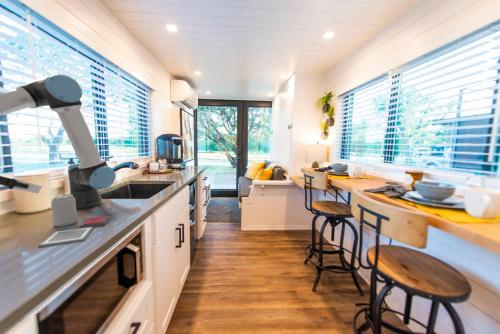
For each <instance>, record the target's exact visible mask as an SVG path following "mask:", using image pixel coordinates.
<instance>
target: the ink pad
mask: <svg viewBox="0 0 500 334" xmlns="http://www.w3.org/2000/svg"><path fill="white" fill-rule="evenodd" d="M109 220H110V215H107V216H106V215H105V216H96V217H95V216H94V217H89V218H86V220H84V221H83V222H82V224H80V225H79V226H80V227H79V229H80V228H88V227H94V228H96V227H104V226H106V224H107V223H108V221H109Z"/></svg>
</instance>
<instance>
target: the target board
mask: <svg viewBox="0 0 500 334" xmlns="http://www.w3.org/2000/svg"><path fill="white" fill-rule="evenodd" d="M94 229H95V227H88V228H80V227H79V228H73V229H66V230H59V231H54V232H53V233H51V234H50V235H49V236H48V237H47V238H45V239H44V240H43V241H41V243H39V245H38V248H43V247H49V246H50V247H51V246H58V245H63V244H72V243H78V242H84V241H86V238H88V236H90V234H91V233H92V231H93V230H94Z"/></svg>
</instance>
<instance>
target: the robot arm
mask: <svg viewBox="0 0 500 334" xmlns="http://www.w3.org/2000/svg"><path fill="white" fill-rule="evenodd" d="M82 97H83V88H82V86H81V84H79V82H78V81H77V80H76V79H74V78H73V77H71V76H70V75H67V74H63V73H55V74H49V75H47V76H44V77H39V78H38V79H36V80H33V81H31V82H29V83H26V84H22V85H17V86H16V88H15V89H14V90H9V91H5V92H1V93H0V116H4V115H7V114H10V113H11V114H12V113H15V112H18V111H21V110H24V109H29V108H30V109H37V108H42V107H47V106H49V108H50V110H51V111H53V112H55V113H56V114H57V116H58V117H59V119H60V122H61V124H62V126H63V128H64V131H65V133H66V135H67V137H68V140H69V141H70V143H71V146H72V148H73V150H74V152H75V155H76V157H77V160H78V161H79V163H72V164H69V165H68V167H67V173H68V174H67V175H68V181H69V192H70V193H69V195H73V197H74V198H75V200H76V210H81V209H88V208H94V207H97V206H100V205H102V204H103V198H102V197H101V195H100V193H99V192H100V191H98V190H105V189H109V188H110V187H111V186H112V185H113V184H114V182H115V181H116V175H117V174H116V171H115V170H114V169H113V168H112V167H110V166H108V163H107V161H106V159H104V158H103V157H101V155H100V153H99V151H98V148H97V146H96V143H95V141H94V139H93V136H92V133H91V132H90V129H89V126H88V124H87V122H86V119H85V117H84V115H83V112H82V108H83V106H84V104H83V102H82ZM0 185H1V186H5V187H6V188H8V189H9V190H13V189H15V190H16V189H17V190H21V191H24V192H28V193H35V194H39V193H40V191H41V190H42V188H43V186H42V185H38V184H35V183H30V182H27V181H23V180H17V179H15V178H10V177H7V176H2V175H0Z"/></svg>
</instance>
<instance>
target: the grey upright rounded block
mask: <svg viewBox="0 0 500 334" xmlns="http://www.w3.org/2000/svg"><path fill="white" fill-rule="evenodd" d="M51 210H52V211H51V213H52V222H53V223H52V224H53V225H54V226H56V227H59V228H60V227H62V228H63V227H67V226H71V225H74V224H75V223H76V222H77V221H78V214H77V209H76V200H75V198H74V197H73V195H70V194H62V195H57V196H54V197H52V200H51Z"/></svg>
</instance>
